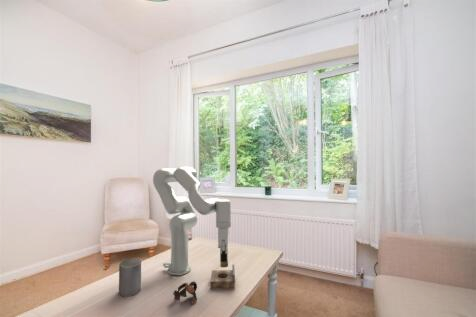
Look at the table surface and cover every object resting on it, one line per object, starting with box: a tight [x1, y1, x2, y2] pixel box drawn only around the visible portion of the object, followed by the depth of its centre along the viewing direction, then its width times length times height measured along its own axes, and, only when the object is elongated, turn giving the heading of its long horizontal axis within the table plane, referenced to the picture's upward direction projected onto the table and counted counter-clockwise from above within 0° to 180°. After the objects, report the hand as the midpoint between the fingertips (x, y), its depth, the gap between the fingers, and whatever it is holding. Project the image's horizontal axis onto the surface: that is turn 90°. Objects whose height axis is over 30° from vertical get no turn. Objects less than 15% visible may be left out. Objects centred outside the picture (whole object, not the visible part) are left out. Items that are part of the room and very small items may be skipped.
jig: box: [209, 264, 236, 290], centre depth 121 cm, size 12×12×6 cm
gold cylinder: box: [219, 246, 229, 268], centre depth 121 cm, size 4×4×10 cm
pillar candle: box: [118, 258, 142, 298], centre depth 112 cm, size 10×10×15 cm
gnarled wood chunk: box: [173, 281, 198, 306], centre depth 106 cm, size 12×10×8 cm
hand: (224, 259), depth 121 cm, fingers closed on gold cylinder, 4 cm apart
